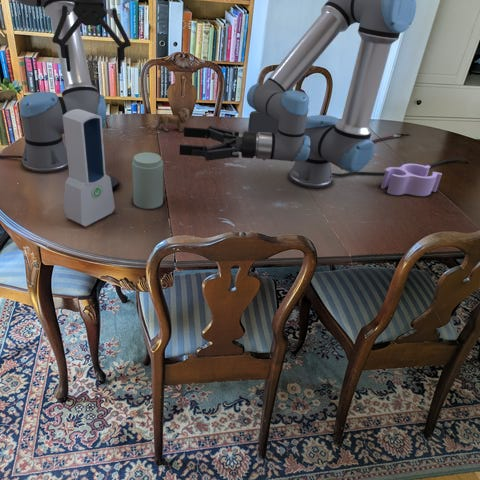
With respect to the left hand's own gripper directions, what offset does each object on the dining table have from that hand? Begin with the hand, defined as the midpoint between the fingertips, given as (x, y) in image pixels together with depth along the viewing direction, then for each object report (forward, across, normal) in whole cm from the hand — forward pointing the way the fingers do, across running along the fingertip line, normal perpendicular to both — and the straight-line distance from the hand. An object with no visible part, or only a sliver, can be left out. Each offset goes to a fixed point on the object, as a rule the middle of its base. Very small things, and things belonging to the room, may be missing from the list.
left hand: (94, 71), depth 131 cm
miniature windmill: (+36, -3, +52) cm, 63 cm away
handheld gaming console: (+36, +72, +47) cm, 93 cm away
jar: (+36, +14, -12) cm, 40 cm away
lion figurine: (+36, +28, +51) cm, 69 cm away
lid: (+34, 0, 0) cm, 34 cm away
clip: (+36, +106, -8) cm, 113 cm away
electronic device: (+36, -4, -19) cm, 41 cm away
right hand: (+15, +23, -14) cm, 31 cm away
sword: (+36, +126, +40) cm, 137 cm away
